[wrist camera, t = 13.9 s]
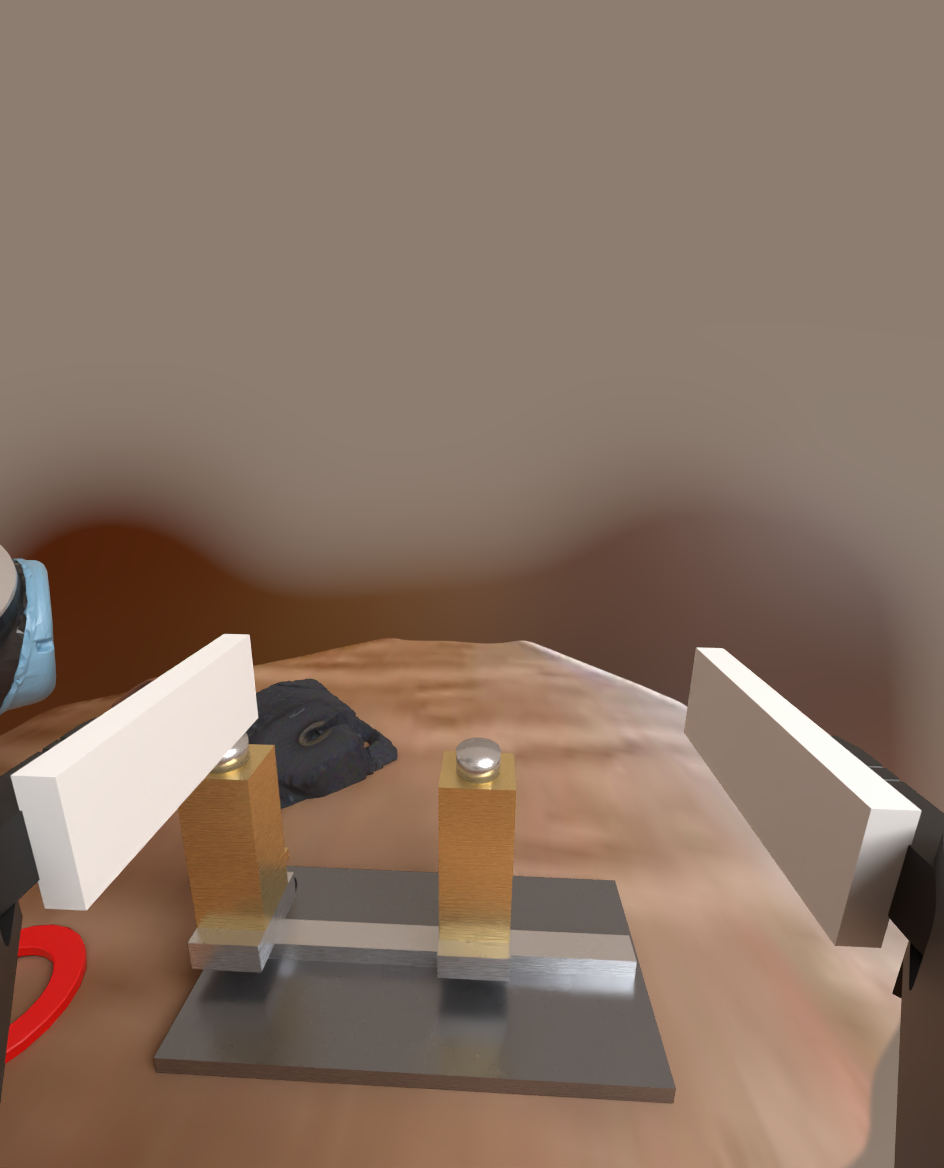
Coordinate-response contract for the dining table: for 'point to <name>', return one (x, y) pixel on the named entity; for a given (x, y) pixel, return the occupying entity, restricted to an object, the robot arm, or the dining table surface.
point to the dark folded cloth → (315, 740)
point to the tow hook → (63, 985)
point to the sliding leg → (476, 861)
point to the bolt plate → (394, 970)
